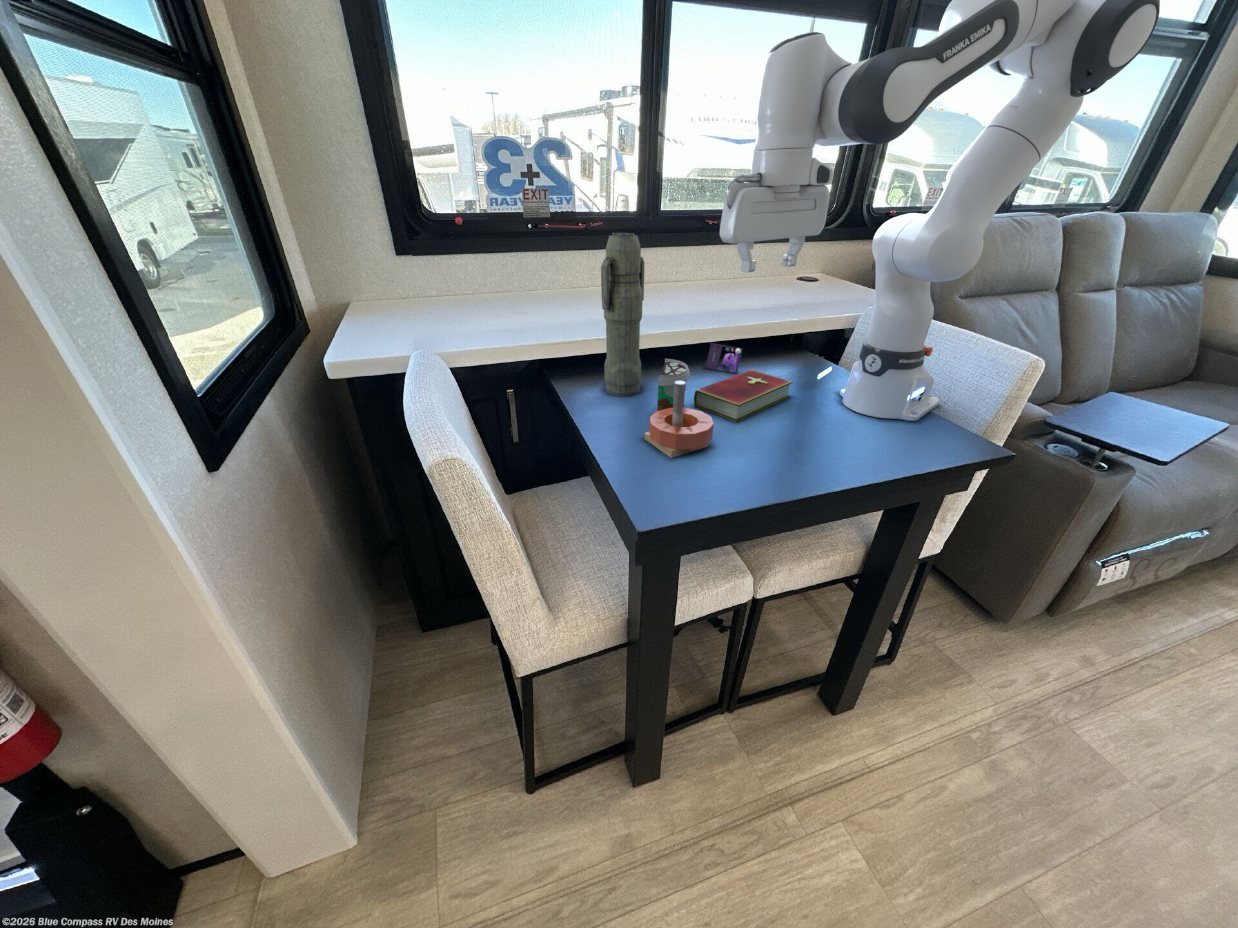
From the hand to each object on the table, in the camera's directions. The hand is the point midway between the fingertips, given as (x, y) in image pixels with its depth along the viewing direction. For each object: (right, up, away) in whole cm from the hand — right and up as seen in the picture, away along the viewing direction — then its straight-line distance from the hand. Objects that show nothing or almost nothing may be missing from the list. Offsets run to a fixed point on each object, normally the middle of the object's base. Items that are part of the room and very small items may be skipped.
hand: (768, 269), depth 81 cm
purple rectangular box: (+4, -7, +52) cm, 53 cm away
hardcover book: (+4, -18, +32) cm, 37 cm away
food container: (-13, -21, +28) cm, 37 cm away
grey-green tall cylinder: (-24, -14, +39) cm, 48 cm away
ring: (-13, -27, +14) cm, 33 cm away
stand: (-14, -29, +14) cm, 35 cm away
